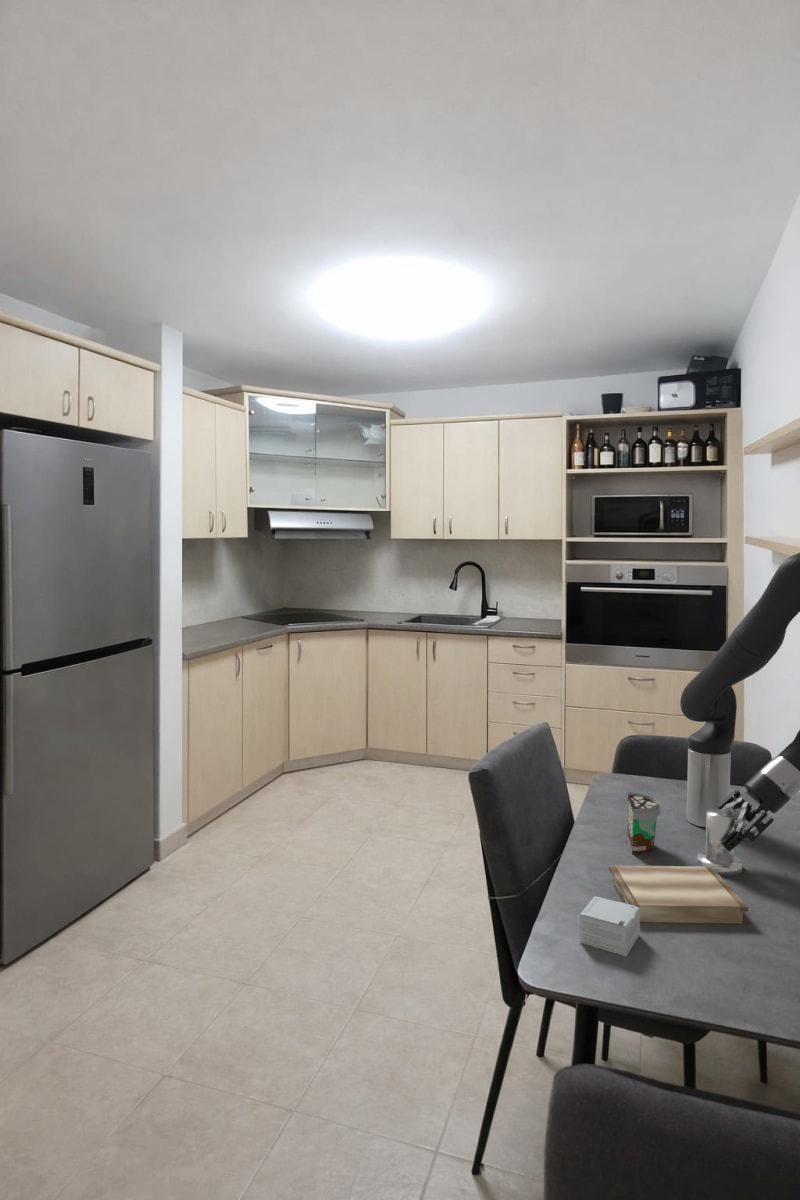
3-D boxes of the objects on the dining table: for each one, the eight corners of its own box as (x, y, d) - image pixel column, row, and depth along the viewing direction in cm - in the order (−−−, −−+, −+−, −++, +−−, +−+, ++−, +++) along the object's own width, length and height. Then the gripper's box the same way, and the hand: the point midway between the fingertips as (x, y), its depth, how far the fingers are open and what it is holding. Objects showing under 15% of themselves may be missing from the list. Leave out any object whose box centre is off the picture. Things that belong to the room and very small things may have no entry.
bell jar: (690, 857, 154) (691, 806, 153) (731, 858, 153) (733, 806, 153) (705, 875, 145) (707, 820, 145) (749, 876, 145) (750, 821, 144)
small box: (594, 923, 127) (594, 894, 127) (640, 936, 123) (641, 906, 122) (578, 943, 121) (578, 913, 120) (626, 958, 116) (627, 926, 116)
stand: (608, 880, 143) (608, 864, 143) (710, 881, 143) (711, 866, 142) (631, 922, 127) (632, 905, 127) (747, 924, 126) (748, 907, 126)
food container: (663, 859, 153) (664, 811, 152) (632, 856, 154) (633, 809, 154) (655, 836, 165) (656, 792, 164) (626, 834, 166) (627, 791, 166)
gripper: (747, 760, 155) (690, 813, 156) (779, 781, 141) (717, 839, 142) (772, 785, 155) (715, 838, 156) (807, 809, 141) (744, 867, 142)
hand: (716, 839), depth 149 cm, fingers open, 8 cm apart
